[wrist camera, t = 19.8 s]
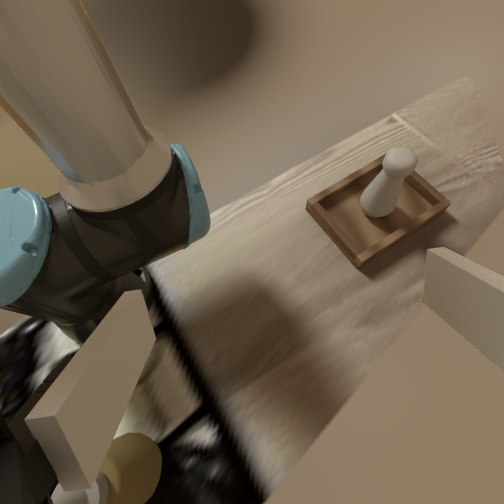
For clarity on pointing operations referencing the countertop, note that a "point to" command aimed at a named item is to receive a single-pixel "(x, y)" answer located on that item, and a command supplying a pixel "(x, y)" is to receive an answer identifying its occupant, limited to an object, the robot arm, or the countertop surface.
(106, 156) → the robot arm
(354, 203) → the walnut tray
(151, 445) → the squeeze bottle
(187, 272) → the countertop surface
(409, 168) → the salt shaker
